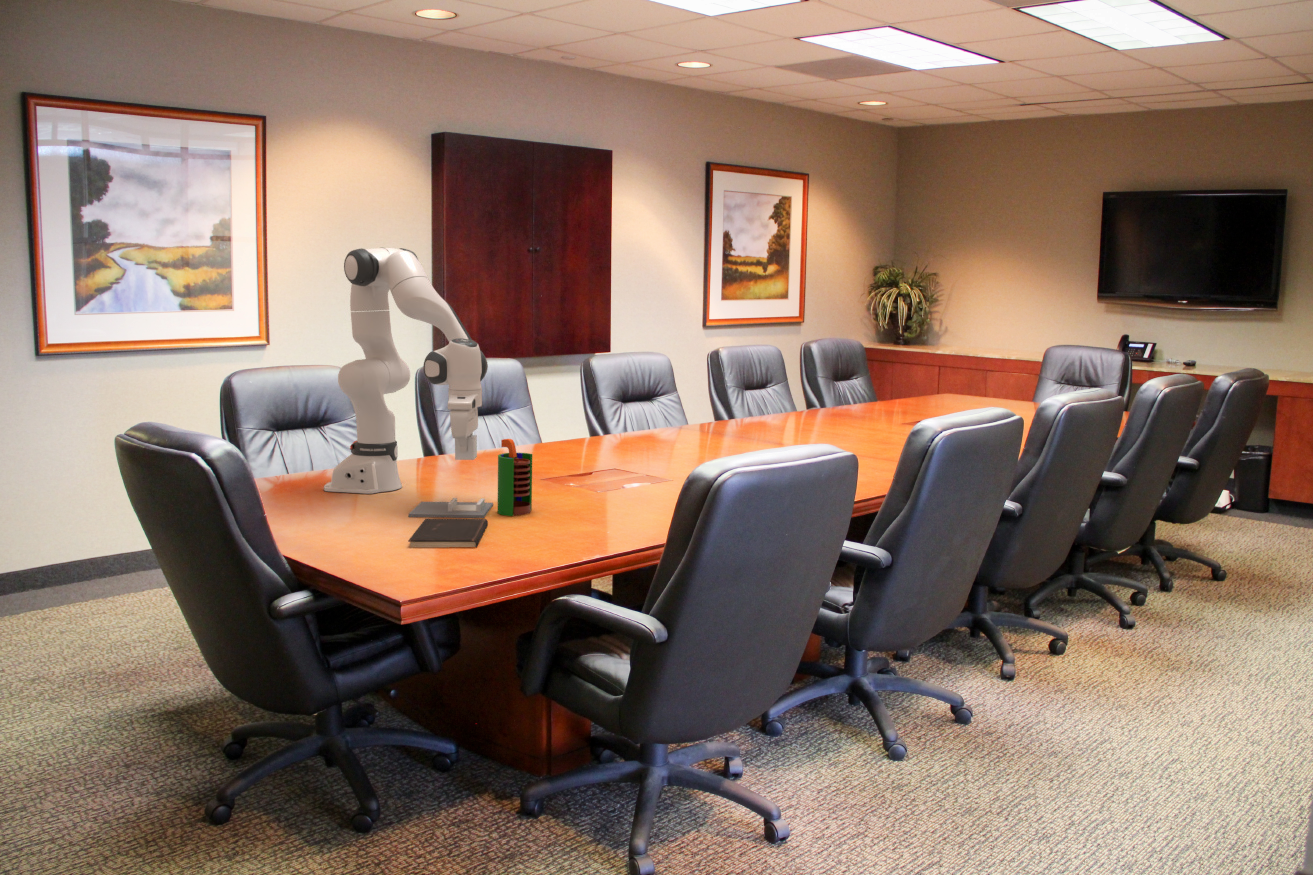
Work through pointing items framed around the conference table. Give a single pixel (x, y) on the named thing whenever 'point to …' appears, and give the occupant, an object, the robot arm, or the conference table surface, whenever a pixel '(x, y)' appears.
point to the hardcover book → (449, 533)
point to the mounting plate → (452, 509)
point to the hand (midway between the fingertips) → (465, 450)
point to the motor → (514, 481)
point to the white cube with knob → (471, 449)
